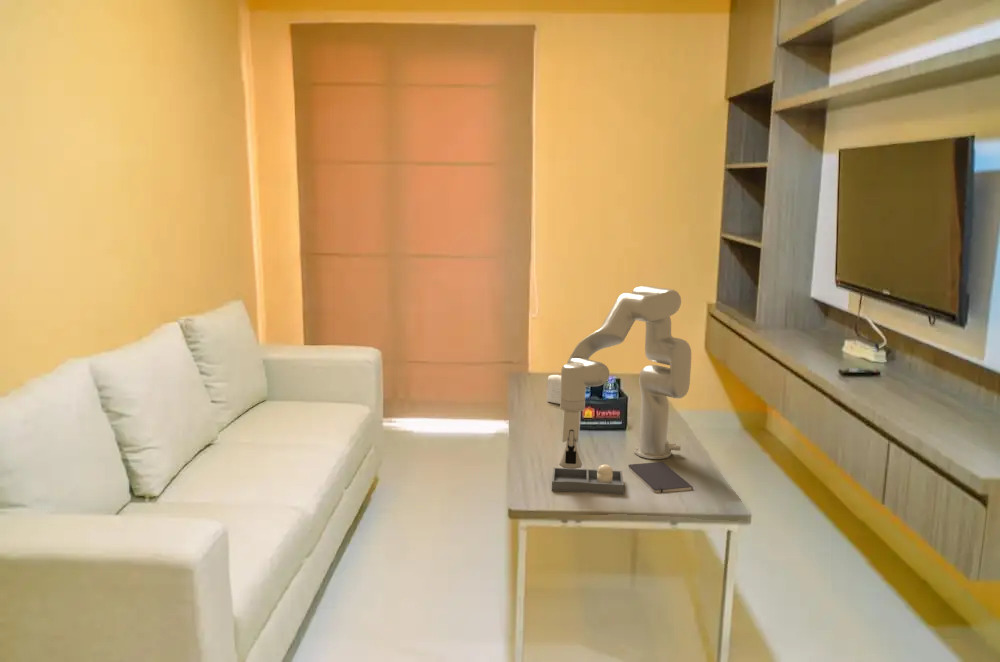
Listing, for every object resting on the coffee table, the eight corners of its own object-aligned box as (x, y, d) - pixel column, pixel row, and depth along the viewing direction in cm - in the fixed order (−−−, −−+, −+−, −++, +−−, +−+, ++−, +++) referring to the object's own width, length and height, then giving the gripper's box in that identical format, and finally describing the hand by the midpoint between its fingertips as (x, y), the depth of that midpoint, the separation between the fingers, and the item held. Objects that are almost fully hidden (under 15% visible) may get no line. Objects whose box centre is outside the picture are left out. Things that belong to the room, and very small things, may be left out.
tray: (621, 479, 228) (621, 470, 228) (623, 494, 218) (623, 485, 217) (553, 476, 231) (553, 467, 230) (551, 490, 220) (551, 481, 219)
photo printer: (570, 403, 310) (571, 376, 308) (566, 406, 307) (566, 378, 304) (550, 399, 316) (550, 372, 314) (545, 402, 312) (545, 374, 310)
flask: (579, 460, 227) (580, 430, 225) (584, 469, 220) (585, 438, 218) (557, 461, 227) (558, 431, 225) (561, 469, 220) (561, 438, 218)
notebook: (692, 491, 222) (662, 466, 242) (692, 486, 221) (662, 461, 242) (654, 494, 219) (627, 468, 239) (654, 490, 218) (627, 464, 239)
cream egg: (611, 481, 226) (612, 462, 224) (612, 487, 221) (613, 468, 220) (596, 480, 226) (597, 461, 225) (596, 486, 221) (597, 467, 220)
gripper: (561, 395, 228) (559, 450, 232) (559, 411, 212) (557, 469, 215) (584, 396, 228) (582, 451, 231) (585, 412, 211) (582, 471, 214)
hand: (570, 459), depth 223 cm, fingers closed on flask, 4 cm apart
